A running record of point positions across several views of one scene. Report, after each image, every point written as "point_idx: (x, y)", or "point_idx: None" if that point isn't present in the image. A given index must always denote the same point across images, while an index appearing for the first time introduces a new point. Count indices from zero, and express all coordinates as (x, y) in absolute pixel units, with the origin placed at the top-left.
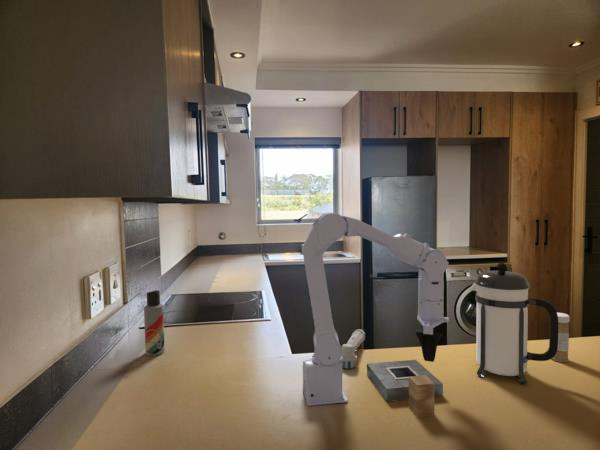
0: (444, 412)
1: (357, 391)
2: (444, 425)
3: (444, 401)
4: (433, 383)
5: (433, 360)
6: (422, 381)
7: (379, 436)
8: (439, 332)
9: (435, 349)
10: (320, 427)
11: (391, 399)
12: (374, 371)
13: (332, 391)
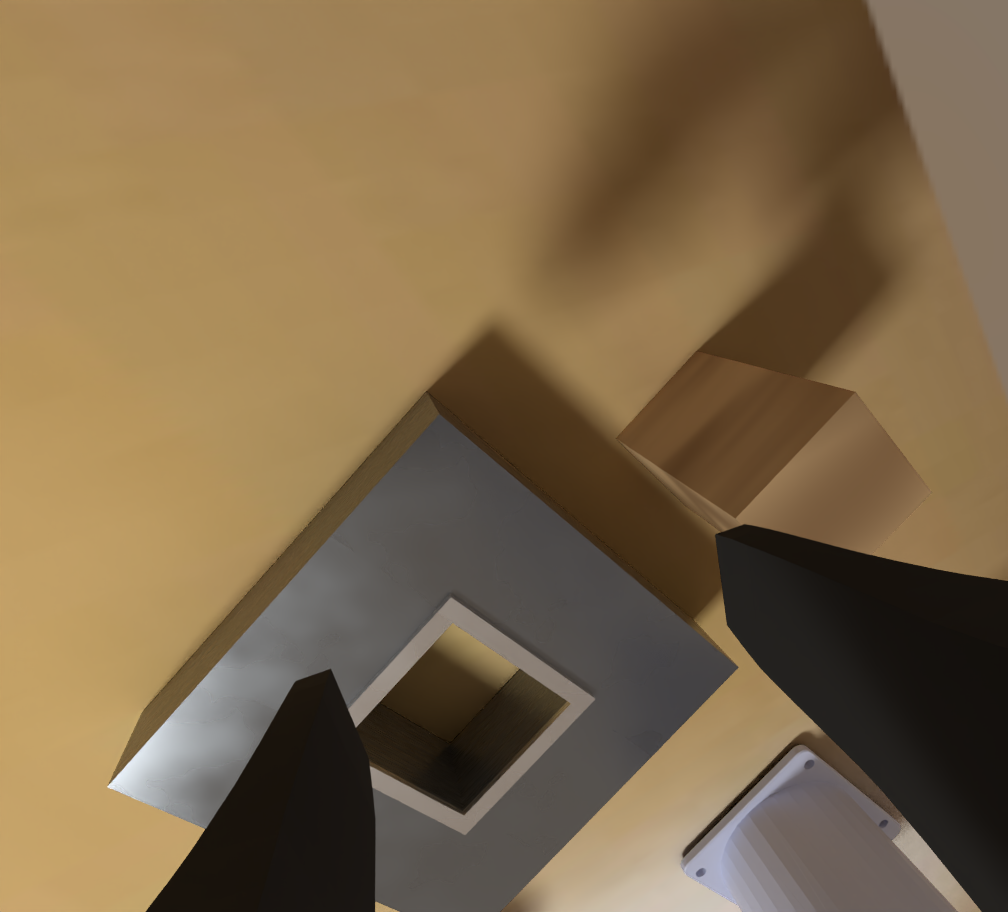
0: (636, 308)
1: (672, 776)
2: (775, 261)
3: (496, 355)
4: (857, 399)
5: (764, 530)
6: (857, 486)
7: (980, 490)
8: (265, 905)
9: (932, 575)
10: None
11: (680, 610)
12: (556, 845)
13: (878, 828)
